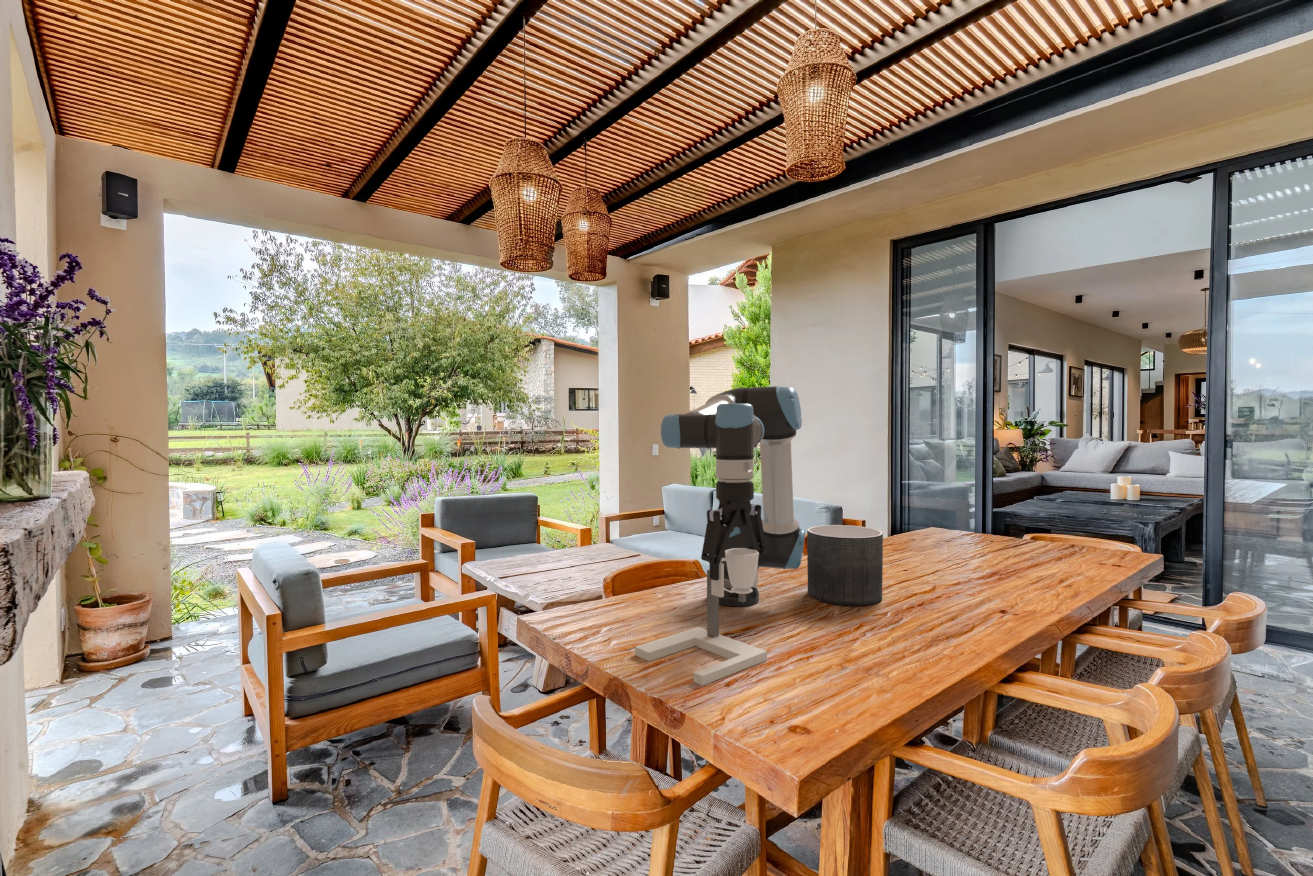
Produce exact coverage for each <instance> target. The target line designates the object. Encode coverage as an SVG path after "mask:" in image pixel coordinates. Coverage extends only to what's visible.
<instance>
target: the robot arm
mask: <svg viewBox="0 0 1313 876" xmlns="http://www.w3.org/2000/svg"><path fill="white" fill-rule="evenodd" d="M802 420H803V419H802V409H801V403H800V398H799V395H798V392H797V390H796V389H795V388H793V387H790V386H780V385H778V386H759V387H757V386H756V387H751V386H750V387H737V388H732V389H728V390H725V391H723V392H720V393H717V394H715V395H712V396H711V397H709V399H708V400H707V401H706V402H705V403H704V404H702V405H701V406H699V407H697V408H695V409H693V410H690V411H689V412H687V413H682V414H681V413H680V414H678V413H675V414H666V415H665V416H664V417H663V418H662V421H661V425H660V438H661V441H662V444H663V445H664V446H665V447H667V448H673V449H715V452H716V453H715V457H716V458H715V478H716V479H718V480H717V482H716V483H715V484H716V485H715V497H716V500H717V501H718V507H717V509H714V510H713V509H708V510H706V520H707V523H706V528H705V533H704V539H703V545H702V549H701V550H702V551H701V557H700V558H701V560H702V561H705V562H707V563H708V564H709V569H710V579H711V595H714V596H718V597H719V606H720V605H721V606H726V607H745V606H752V605H755V604H757V603H759V601H760V592H759V590H758V587H759V569H760V568H768V569H782V570H796V569H798V568H800V566H801V564H802V559H803V552H804V548H805V547H804V545H805V537H806V536H805V535H806V531H805V530H804V529H803V528H800V522H799V521H798V520H797V519H796V518H795V517H794V516H795V515H794V491H793V490H794V489H793V466H792V465H793V464H792V460H793V459H792V440H793V439H795V437H796V436H797V430H800V429H801V428H802V425H803V424H802V422H803V421H802ZM757 445H759V450H760V451H759V452H760V471H761V472H760V474H761V490H762V491H761V493H762V505H761V504H754V503H751V501H752V500H753V499H754V496H755V494H754V492H755V491H754V490H755V489H754V488H755V485H754V482H753V481H752V479H754V448H755V447H756V446H757ZM762 513H763V516H762ZM762 517H763V519H762ZM732 548H748V549H754V550H757V551H758V552H759V556H758V563H757V570H756V577H755V580H754V584H753V586H752V587H750V588H752V590H753V592H751V593H748V594H746V602H739V594H738V593H730V592H728V591H726V590H724V588H726V589H727V590H731V588H728V587H724V579H728V580H730V579H729V575H728V569H727V562H726V561H722V562H721V559H722V558H726V556H725V550H728V549H732ZM720 562H721V563H720Z"/></svg>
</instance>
